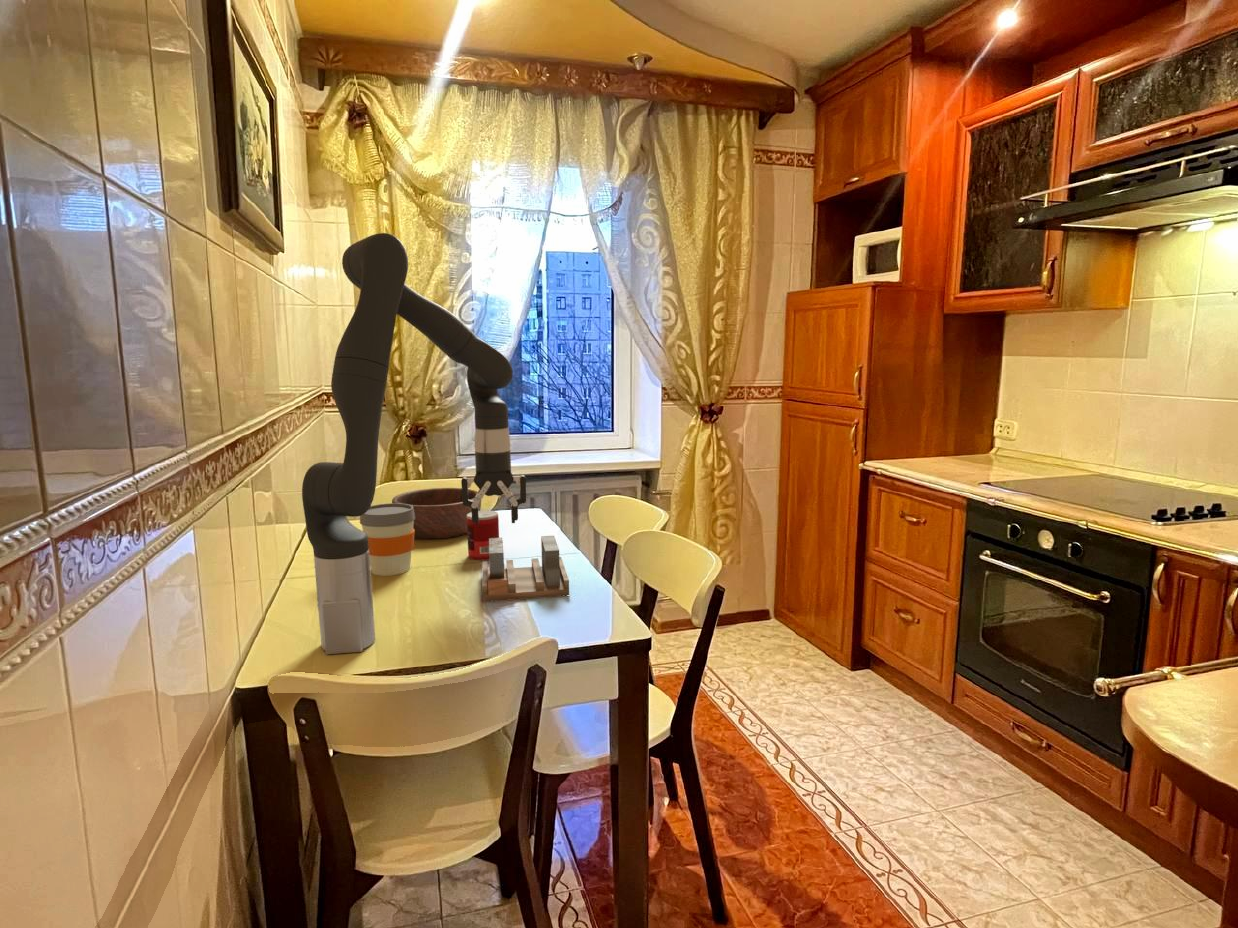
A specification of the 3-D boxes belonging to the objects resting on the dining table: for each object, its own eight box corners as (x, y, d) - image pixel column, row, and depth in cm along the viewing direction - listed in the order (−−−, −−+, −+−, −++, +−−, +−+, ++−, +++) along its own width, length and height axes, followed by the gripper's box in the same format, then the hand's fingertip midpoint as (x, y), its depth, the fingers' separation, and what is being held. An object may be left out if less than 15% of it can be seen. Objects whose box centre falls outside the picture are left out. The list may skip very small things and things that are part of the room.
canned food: (505, 553, 185) (504, 512, 183) (485, 562, 178) (483, 518, 176) (483, 549, 189) (481, 508, 187) (462, 557, 182) (460, 515, 180)
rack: (569, 595, 154) (568, 553, 152) (482, 601, 151) (481, 558, 149) (561, 571, 171) (560, 532, 169) (483, 576, 167) (481, 536, 166)
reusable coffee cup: (402, 579, 166) (398, 516, 163) (352, 576, 168) (348, 514, 165) (427, 563, 178) (423, 504, 175) (380, 560, 180) (376, 502, 178)
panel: (504, 588, 154) (503, 552, 153) (490, 589, 153) (489, 553, 152) (503, 571, 166) (502, 537, 164) (490, 571, 165) (489, 538, 164)
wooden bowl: (410, 520, 221) (408, 487, 219) (491, 520, 220) (489, 487, 218) (380, 542, 197) (378, 506, 195) (471, 542, 196) (469, 506, 194)
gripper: (457, 452, 150) (461, 529, 152) (527, 450, 152) (529, 525, 155) (459, 447, 157) (462, 520, 160) (525, 445, 159) (527, 517, 162)
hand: (495, 523), depth 157 cm, fingers open, 7 cm apart
